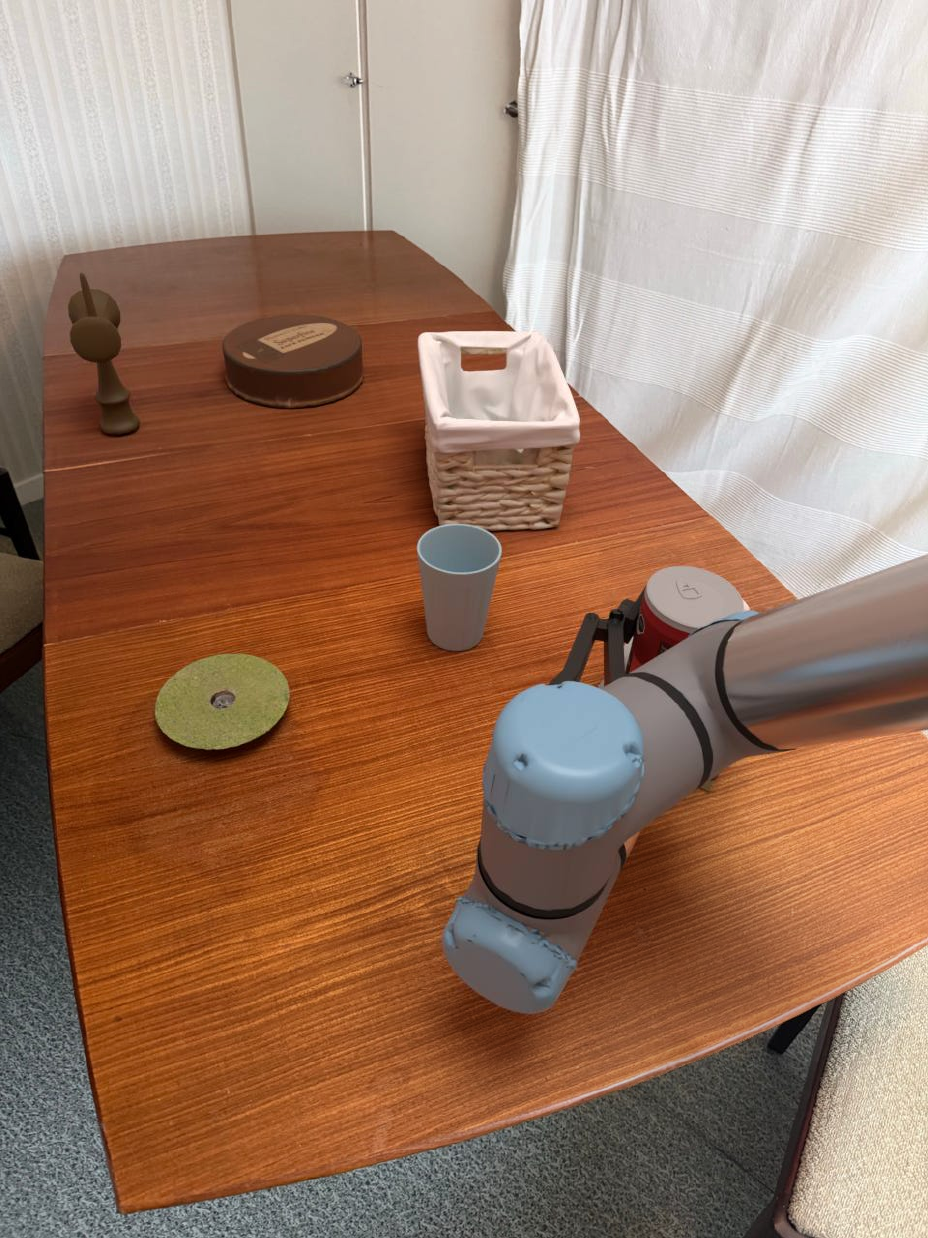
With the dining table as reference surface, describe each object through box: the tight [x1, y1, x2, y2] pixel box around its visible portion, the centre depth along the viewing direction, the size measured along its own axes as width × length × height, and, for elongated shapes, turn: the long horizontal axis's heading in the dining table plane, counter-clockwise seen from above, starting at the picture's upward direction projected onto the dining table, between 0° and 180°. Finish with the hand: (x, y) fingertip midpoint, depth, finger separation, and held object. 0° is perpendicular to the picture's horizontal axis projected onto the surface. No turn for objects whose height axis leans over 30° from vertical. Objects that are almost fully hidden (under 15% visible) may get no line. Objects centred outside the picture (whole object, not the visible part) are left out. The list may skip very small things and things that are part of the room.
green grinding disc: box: [154, 653, 291, 751], centre depth 72 cm, size 11×11×2 cm
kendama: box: [67, 272, 141, 436], centre depth 103 cm, size 6×10×20 cm, turn 19°
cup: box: [416, 524, 503, 652], centre depth 78 cm, size 8×8×10 cm
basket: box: [417, 330, 581, 532], centre depth 98 cm, size 24×16×15 cm
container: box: [221, 313, 365, 409], centre depth 121 cm, size 20×20×6 cm
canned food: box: [625, 565, 744, 674], centre depth 69 cm, size 8×8×11 cm
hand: (700, 606), depth 72 cm, fingers closed on canned food, 8 cm apart
